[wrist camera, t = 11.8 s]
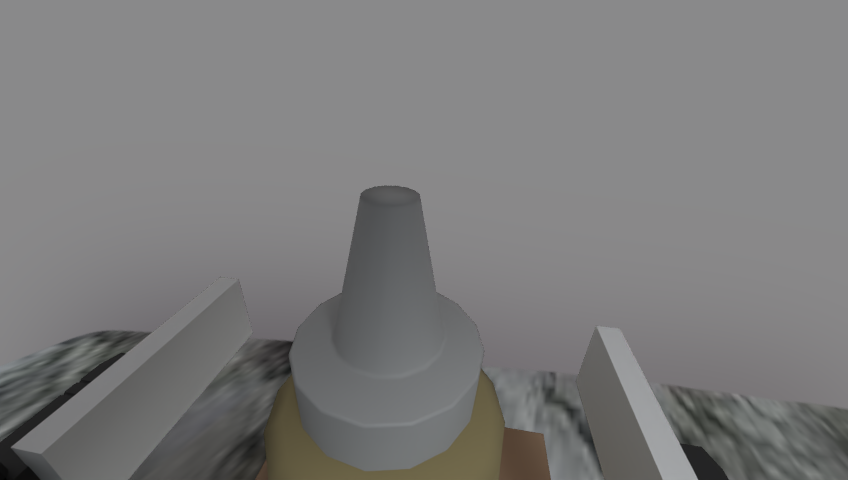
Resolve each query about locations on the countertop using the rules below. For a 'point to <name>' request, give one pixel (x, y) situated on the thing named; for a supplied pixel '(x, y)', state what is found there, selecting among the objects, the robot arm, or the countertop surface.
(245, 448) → the countertop surface
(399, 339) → the squeeze bottle
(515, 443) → the walnut plinth
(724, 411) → the countertop surface
